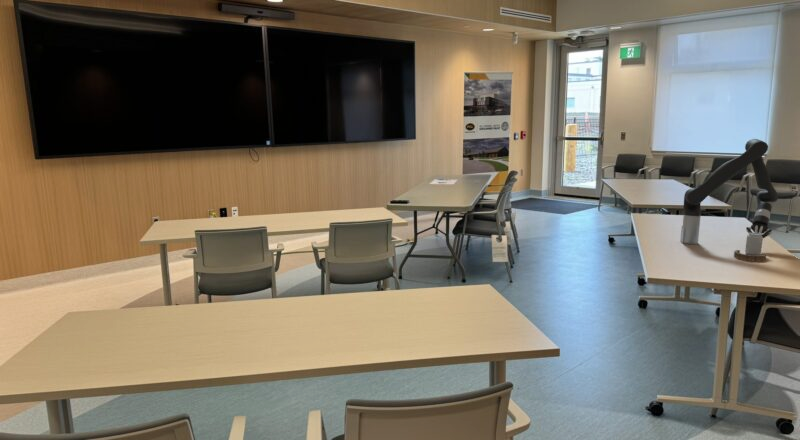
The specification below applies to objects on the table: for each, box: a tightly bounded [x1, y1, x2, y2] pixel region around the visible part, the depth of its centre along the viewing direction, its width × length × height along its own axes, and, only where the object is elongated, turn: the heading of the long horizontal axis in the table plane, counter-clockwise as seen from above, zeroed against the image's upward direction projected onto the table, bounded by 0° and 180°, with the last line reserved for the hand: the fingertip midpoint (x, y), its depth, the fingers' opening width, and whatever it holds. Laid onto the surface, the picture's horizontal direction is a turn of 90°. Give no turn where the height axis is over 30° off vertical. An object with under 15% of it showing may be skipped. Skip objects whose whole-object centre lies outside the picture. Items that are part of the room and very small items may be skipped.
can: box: [745, 232, 764, 256], centre depth 304 cm, size 8×8×12 cm
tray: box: [733, 249, 767, 262], centre depth 296 cm, size 15×13×3 cm
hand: (755, 242), depth 310 cm, fingers closed
